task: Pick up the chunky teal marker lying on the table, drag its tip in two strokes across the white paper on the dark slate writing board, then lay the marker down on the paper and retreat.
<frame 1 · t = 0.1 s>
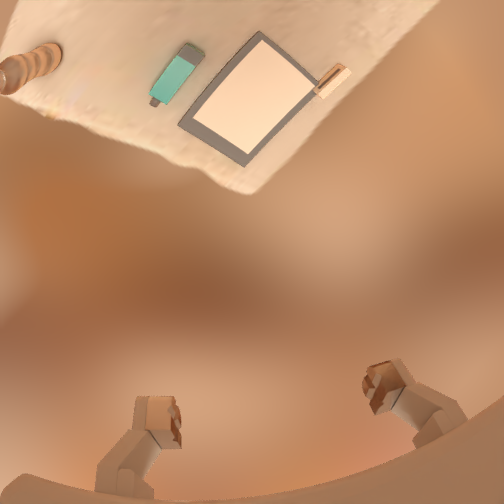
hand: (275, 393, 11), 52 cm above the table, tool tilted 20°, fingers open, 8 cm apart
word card: (327, 78, 48), on the table
plastic bottle: (51, 57, 34), on the table
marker: (177, 71, 44), on the table
writing board: (250, 101, 50), on the table
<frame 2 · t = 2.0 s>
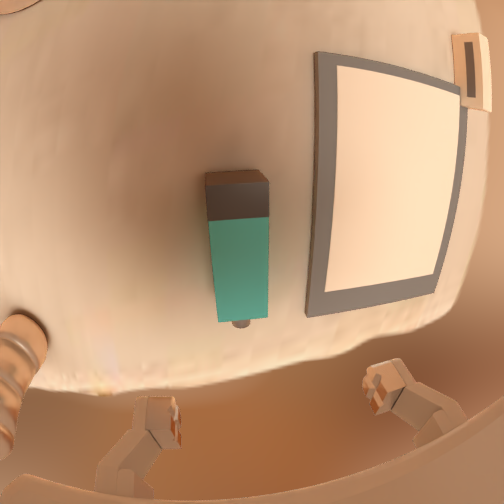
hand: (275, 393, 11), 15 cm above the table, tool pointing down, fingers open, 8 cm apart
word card: (458, 70, 19), on the table
plastic bottle: (30, 328, 25), on the table
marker: (235, 236, 24), on the table
writing board: (396, 195, 24), on the table
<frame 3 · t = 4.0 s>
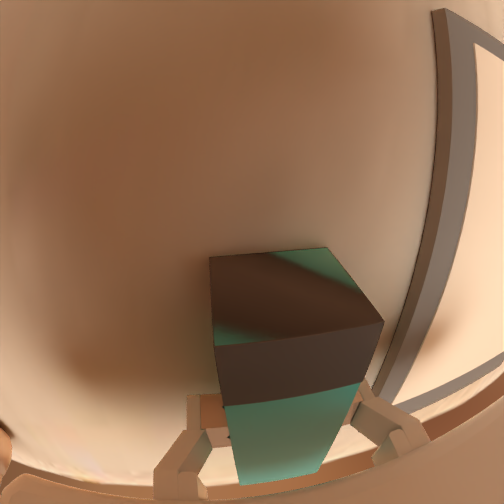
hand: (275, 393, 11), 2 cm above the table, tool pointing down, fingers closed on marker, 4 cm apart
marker: (268, 363, 12), on the table, touching gripper
writing board: (503, 266, 12), on the table
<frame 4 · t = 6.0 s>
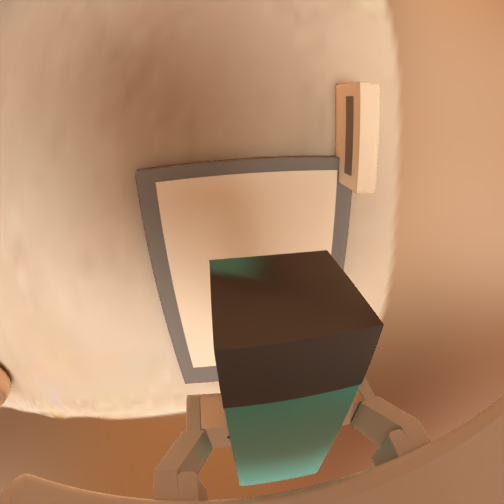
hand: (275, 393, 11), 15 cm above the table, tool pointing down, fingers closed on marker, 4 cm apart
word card: (344, 132, 21), on the table
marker: (267, 364, 12), point 14 cm above the table, touching gripper
writing board: (252, 290, 27), on the table
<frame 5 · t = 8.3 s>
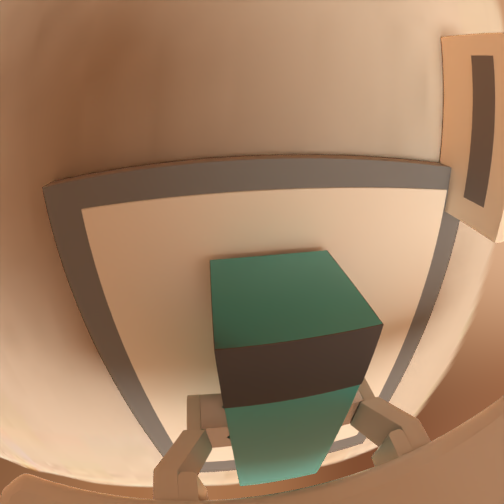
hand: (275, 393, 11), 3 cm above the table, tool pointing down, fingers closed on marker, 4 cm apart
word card: (454, 122, 9), on the table
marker: (268, 364, 12), point 1 cm above the table, touching gripper
writing board: (277, 383, 15), on the table
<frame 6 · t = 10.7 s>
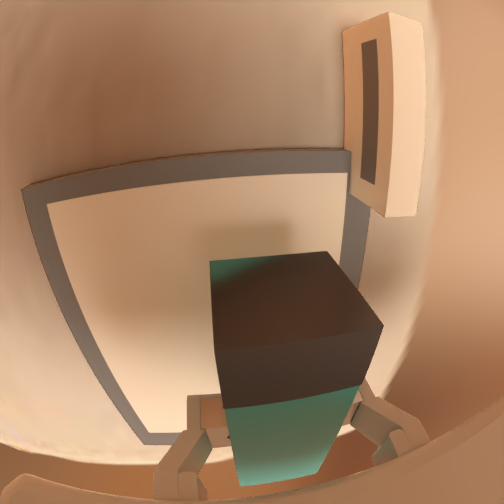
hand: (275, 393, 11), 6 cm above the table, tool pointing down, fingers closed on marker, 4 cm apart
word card: (359, 109, 12), on the table
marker: (268, 365, 12), point 4 cm above the table, touching gripper
writing board: (214, 353, 17), on the table
when the fingers open (3 cm above the table, at t = 12.8 s): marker stays where it is, resting on writing board.
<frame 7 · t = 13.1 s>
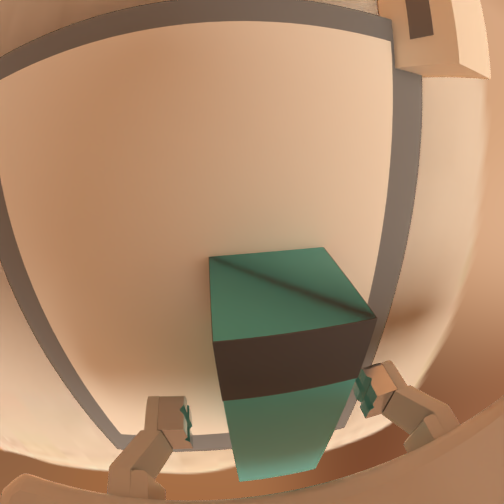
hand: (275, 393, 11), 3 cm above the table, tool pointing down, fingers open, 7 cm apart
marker: (266, 360, 12), point 1 cm above the table, touching writing board
writing board: (204, 318, 12), on the table
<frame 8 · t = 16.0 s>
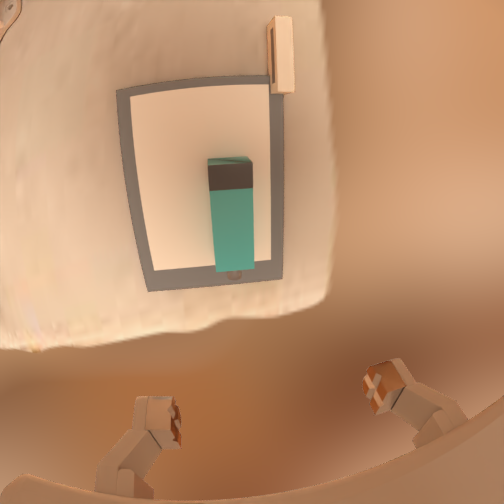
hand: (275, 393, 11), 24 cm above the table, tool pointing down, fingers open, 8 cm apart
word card: (275, 59, 25), on the table
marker: (229, 207, 31), point 1 cm above the table, touching writing board
writing board: (204, 188, 31), on the table
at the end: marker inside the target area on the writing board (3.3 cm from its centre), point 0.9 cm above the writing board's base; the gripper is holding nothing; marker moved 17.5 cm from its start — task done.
